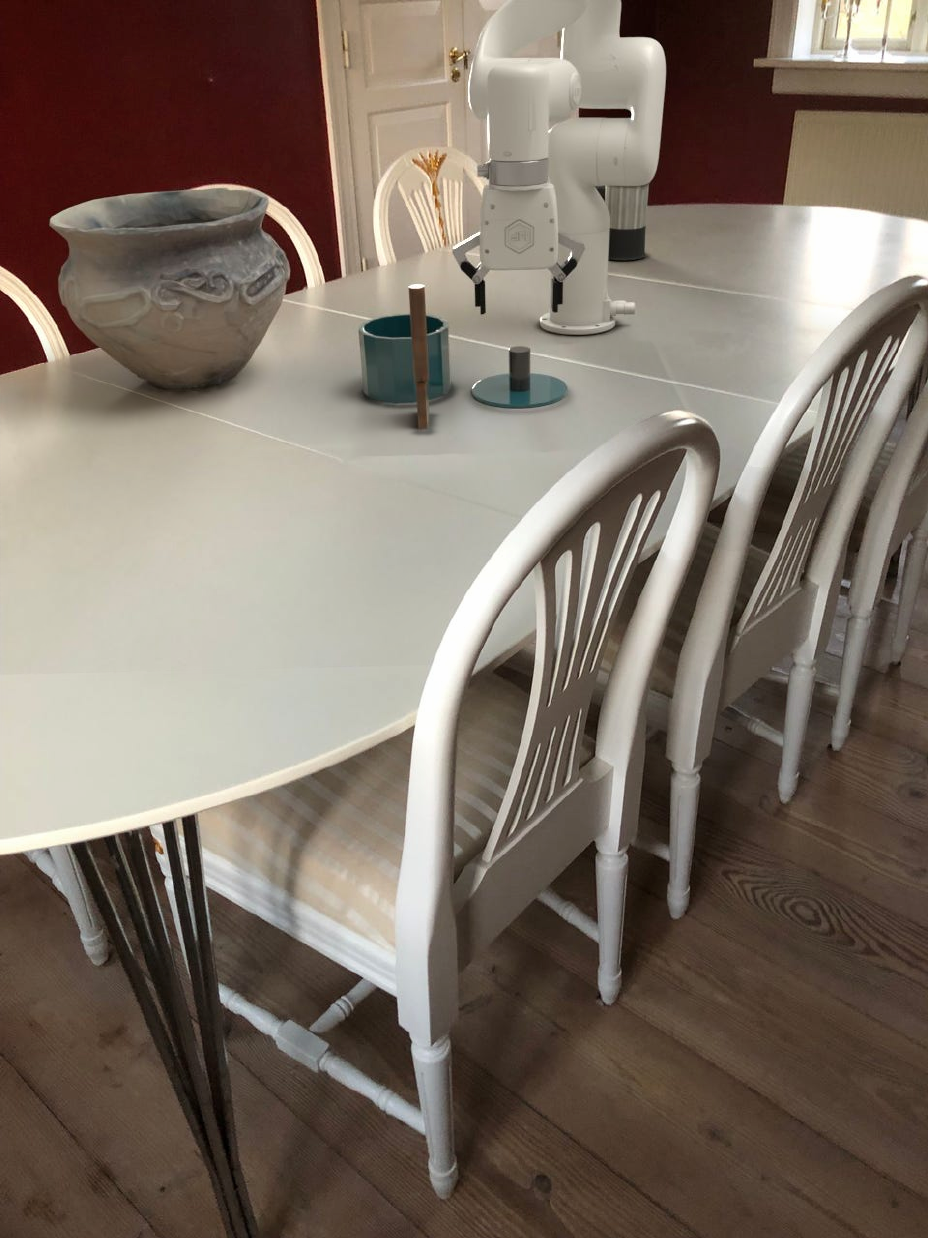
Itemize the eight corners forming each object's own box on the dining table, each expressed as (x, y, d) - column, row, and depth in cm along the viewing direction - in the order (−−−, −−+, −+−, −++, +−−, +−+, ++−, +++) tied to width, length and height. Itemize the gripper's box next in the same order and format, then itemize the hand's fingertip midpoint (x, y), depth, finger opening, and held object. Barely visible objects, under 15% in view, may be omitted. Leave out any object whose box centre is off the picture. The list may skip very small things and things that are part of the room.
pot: (451, 376, 154) (449, 312, 149) (449, 405, 143) (447, 337, 138) (368, 378, 154) (363, 314, 149) (360, 408, 144) (354, 340, 139)
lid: (563, 378, 151) (564, 333, 148) (571, 410, 140) (572, 363, 137) (472, 381, 152) (471, 336, 148) (472, 413, 140) (470, 366, 137)
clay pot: (193, 432, 138) (158, 236, 125) (34, 395, 153) (-12, 217, 140) (345, 361, 162) (329, 190, 149) (195, 335, 177) (168, 178, 164)
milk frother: (653, 253, 217) (657, 178, 210) (621, 270, 206) (624, 190, 199) (592, 248, 224) (594, 174, 216) (558, 263, 213) (559, 186, 205)
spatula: (432, 415, 140) (425, 280, 131) (430, 432, 135) (423, 292, 126) (417, 416, 140) (409, 280, 131) (415, 432, 135) (407, 292, 126)
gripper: (449, 180, 128) (454, 320, 136) (589, 176, 127) (585, 316, 136) (450, 171, 134) (455, 305, 143) (584, 167, 134) (580, 302, 142)
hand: (518, 310), depth 139 cm, fingers open, 9 cm apart
